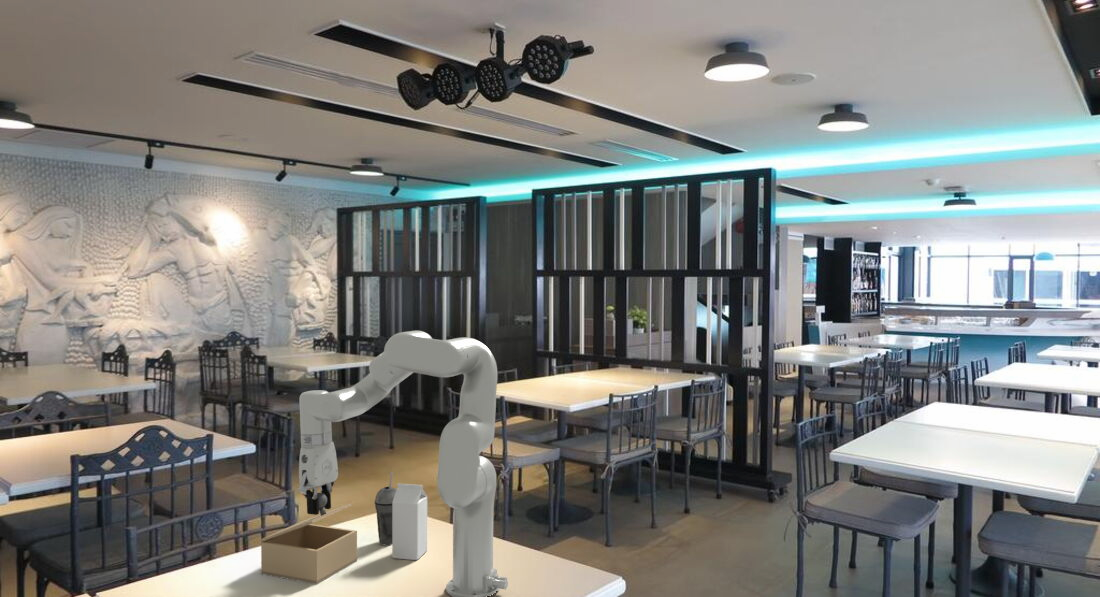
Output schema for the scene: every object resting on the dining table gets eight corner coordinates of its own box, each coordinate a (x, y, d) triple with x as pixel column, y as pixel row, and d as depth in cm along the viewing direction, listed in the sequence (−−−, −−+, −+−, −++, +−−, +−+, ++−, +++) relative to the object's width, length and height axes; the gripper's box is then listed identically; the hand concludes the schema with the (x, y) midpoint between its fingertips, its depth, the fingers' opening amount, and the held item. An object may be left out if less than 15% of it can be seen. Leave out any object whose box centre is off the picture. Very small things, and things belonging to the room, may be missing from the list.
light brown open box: (357, 561, 192) (356, 530, 192) (317, 584, 177) (317, 551, 177) (304, 552, 198) (304, 523, 198) (261, 574, 183) (261, 542, 183)
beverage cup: (373, 539, 209) (373, 469, 208) (399, 536, 211) (399, 467, 210) (375, 548, 202) (375, 475, 201) (402, 545, 204) (402, 473, 204)
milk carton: (417, 560, 193) (417, 488, 192) (392, 558, 194) (392, 487, 194) (427, 551, 200) (427, 481, 199) (402, 549, 201) (402, 480, 201)
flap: (352, 504, 192) (345, 481, 193) (312, 523, 177) (304, 498, 178) (304, 522, 198) (296, 500, 199) (261, 541, 183) (253, 517, 184)
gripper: (306, 446, 177) (309, 522, 177) (349, 433, 193) (351, 503, 193) (281, 445, 180) (284, 520, 180) (325, 432, 195) (328, 501, 196)
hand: (319, 510), depth 186 cm, fingers closed on flap, 4 cm apart
